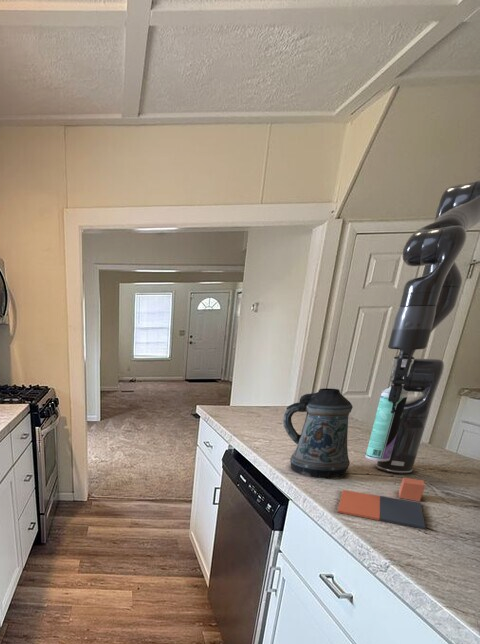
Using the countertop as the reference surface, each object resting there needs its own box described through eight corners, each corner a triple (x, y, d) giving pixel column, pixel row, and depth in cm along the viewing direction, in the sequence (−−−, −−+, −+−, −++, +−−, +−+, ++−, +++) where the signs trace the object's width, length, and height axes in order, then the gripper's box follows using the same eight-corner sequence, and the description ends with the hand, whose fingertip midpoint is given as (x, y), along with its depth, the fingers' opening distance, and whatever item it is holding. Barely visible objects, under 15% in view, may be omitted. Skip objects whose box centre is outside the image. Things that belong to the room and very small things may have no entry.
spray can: (393, 461, 104) (416, 382, 96) (370, 460, 105) (390, 382, 98) (384, 455, 109) (404, 380, 101) (362, 455, 110) (380, 379, 102)
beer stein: (358, 478, 119) (380, 393, 110) (293, 479, 120) (308, 394, 110) (329, 462, 135) (346, 385, 125) (271, 462, 135) (283, 386, 125)
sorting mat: (342, 491, 110) (343, 489, 110) (419, 504, 101) (420, 502, 101) (337, 512, 98) (337, 510, 97) (424, 529, 89) (425, 526, 89)
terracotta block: (398, 492, 109) (403, 477, 107) (418, 495, 107) (423, 480, 105) (399, 497, 105) (403, 482, 104) (420, 501, 103) (425, 485, 102)
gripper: (434, 327, 87) (412, 405, 94) (429, 327, 98) (409, 397, 105) (393, 328, 91) (374, 403, 98) (392, 327, 102) (375, 395, 109)
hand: (392, 399), depth 101 cm, fingers closed on spray can, 5 cm apart
